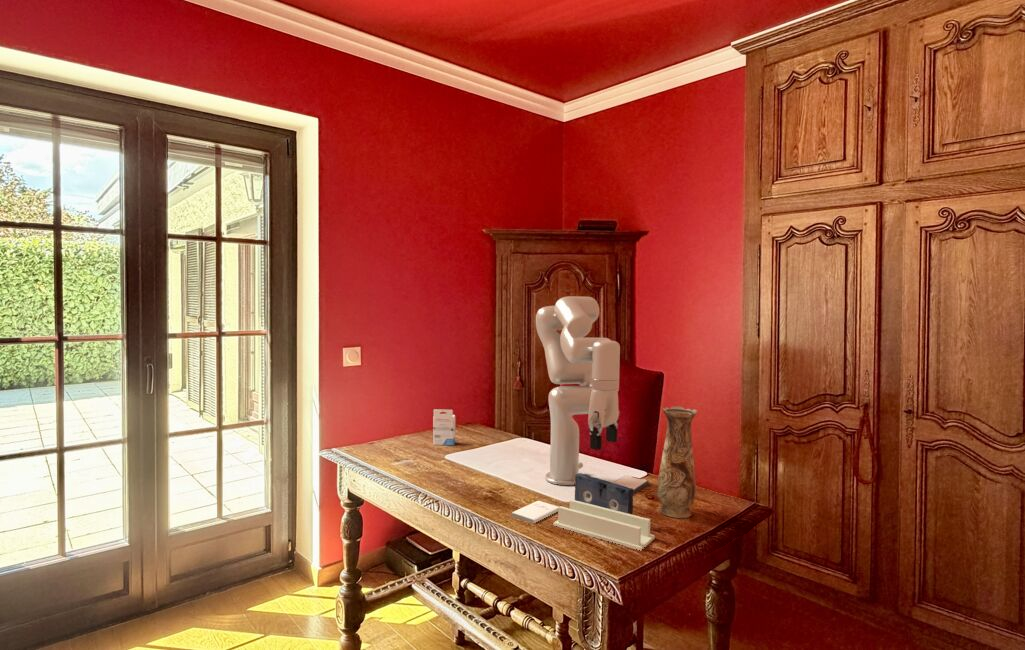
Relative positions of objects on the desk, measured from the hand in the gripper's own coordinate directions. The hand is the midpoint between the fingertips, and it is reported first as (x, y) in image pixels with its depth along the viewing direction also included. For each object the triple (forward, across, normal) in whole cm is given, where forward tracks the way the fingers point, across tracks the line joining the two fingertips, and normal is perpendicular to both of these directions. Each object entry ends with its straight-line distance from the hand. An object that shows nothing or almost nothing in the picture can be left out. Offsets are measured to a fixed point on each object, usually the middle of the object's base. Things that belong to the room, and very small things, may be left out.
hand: (603, 445), depth 158 cm
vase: (+20, -15, +16) cm, 30 cm away
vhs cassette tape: (+20, 0, 0) cm, 21 cm away
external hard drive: (+21, +10, -16) cm, 28 cm away
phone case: (+21, -26, -4) cm, 34 cm away
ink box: (+21, -29, -86) cm, 93 cm away
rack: (+20, +10, +5) cm, 23 cm away
